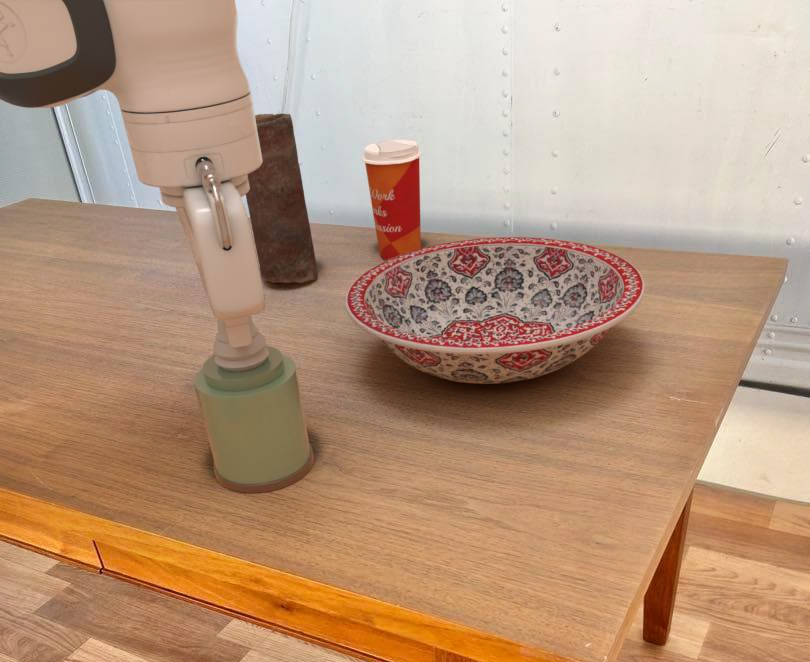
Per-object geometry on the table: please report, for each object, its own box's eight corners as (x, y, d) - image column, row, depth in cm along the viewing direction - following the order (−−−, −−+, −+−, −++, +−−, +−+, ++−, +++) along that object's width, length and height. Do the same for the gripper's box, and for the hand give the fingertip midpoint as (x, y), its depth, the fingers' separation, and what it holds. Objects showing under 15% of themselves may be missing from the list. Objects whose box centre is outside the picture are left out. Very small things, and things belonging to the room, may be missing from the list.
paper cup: (364, 252, 118) (352, 145, 110) (414, 241, 120) (406, 135, 112) (385, 268, 113) (374, 156, 104) (437, 256, 115) (431, 145, 106)
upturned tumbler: (221, 502, 71) (194, 395, 65) (209, 452, 78) (183, 351, 72) (323, 479, 72) (306, 372, 66) (303, 431, 79) (285, 331, 73)
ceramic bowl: (306, 411, 82) (293, 333, 78) (413, 298, 103) (408, 231, 99) (607, 448, 73) (613, 362, 68) (658, 315, 94) (665, 242, 89)
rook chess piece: (225, 350, 71) (204, 255, 66) (276, 349, 70) (258, 253, 66) (208, 374, 68) (184, 275, 63) (261, 373, 67) (242, 274, 62)
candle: (282, 296, 108) (251, 125, 96) (250, 283, 112) (218, 119, 100) (329, 278, 112) (306, 111, 99) (297, 266, 116) (271, 106, 104)
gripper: (264, 170, 52) (300, 376, 60) (222, 115, 67) (255, 284, 76) (161, 187, 50) (212, 395, 59) (142, 126, 66) (185, 297, 75)
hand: (236, 331), depth 67 cm, fingers closed on rook chess piece, 3 cm apart
